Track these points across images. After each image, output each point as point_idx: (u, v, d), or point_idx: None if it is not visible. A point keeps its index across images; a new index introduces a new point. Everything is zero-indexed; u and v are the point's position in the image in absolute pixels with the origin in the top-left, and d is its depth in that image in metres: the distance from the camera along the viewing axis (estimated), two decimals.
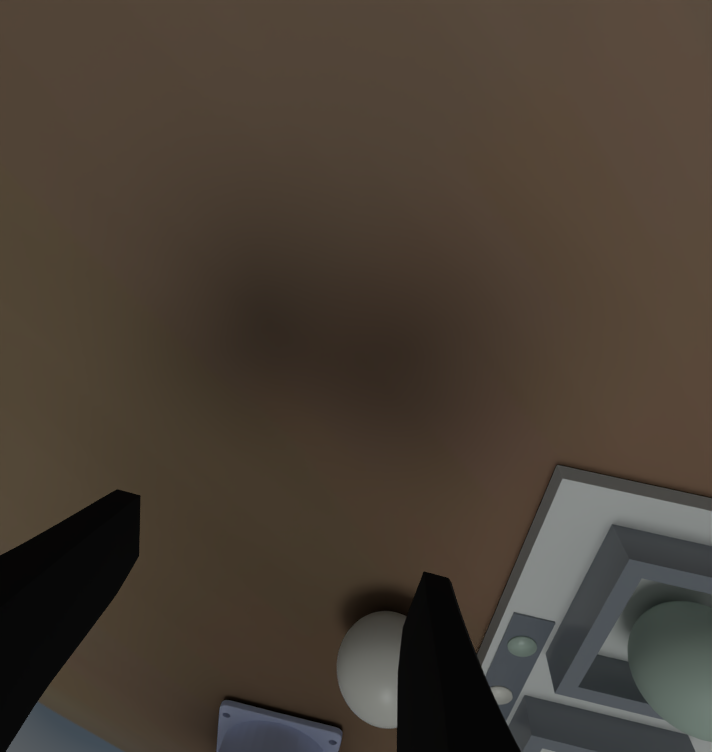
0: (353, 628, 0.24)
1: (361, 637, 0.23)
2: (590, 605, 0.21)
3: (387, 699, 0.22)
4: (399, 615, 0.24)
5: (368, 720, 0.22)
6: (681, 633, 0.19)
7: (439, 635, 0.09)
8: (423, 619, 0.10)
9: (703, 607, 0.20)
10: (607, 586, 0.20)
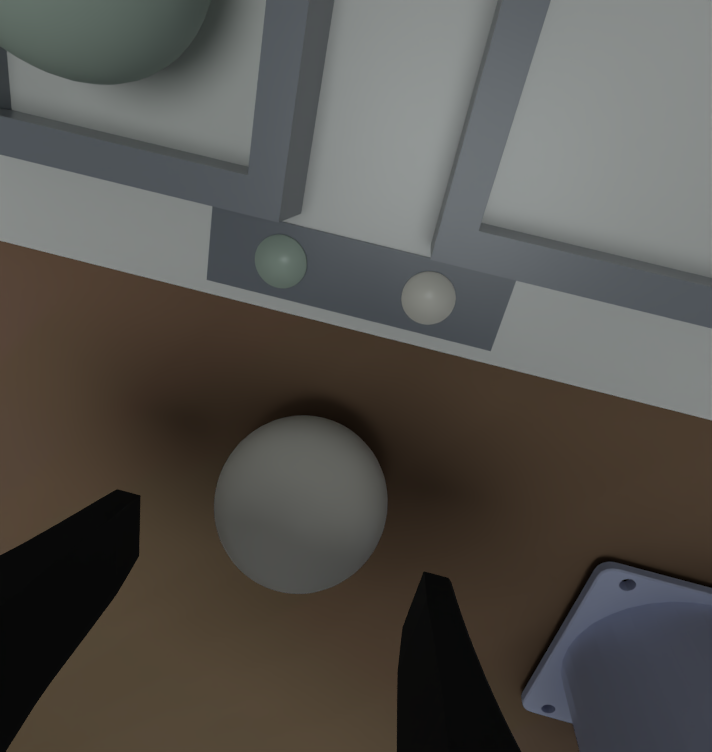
0: None
1: None
2: None
3: (241, 546, 0.12)
4: None
5: (299, 582, 0.12)
6: None
7: (439, 635, 0.09)
8: (423, 619, 0.10)
9: None
10: None
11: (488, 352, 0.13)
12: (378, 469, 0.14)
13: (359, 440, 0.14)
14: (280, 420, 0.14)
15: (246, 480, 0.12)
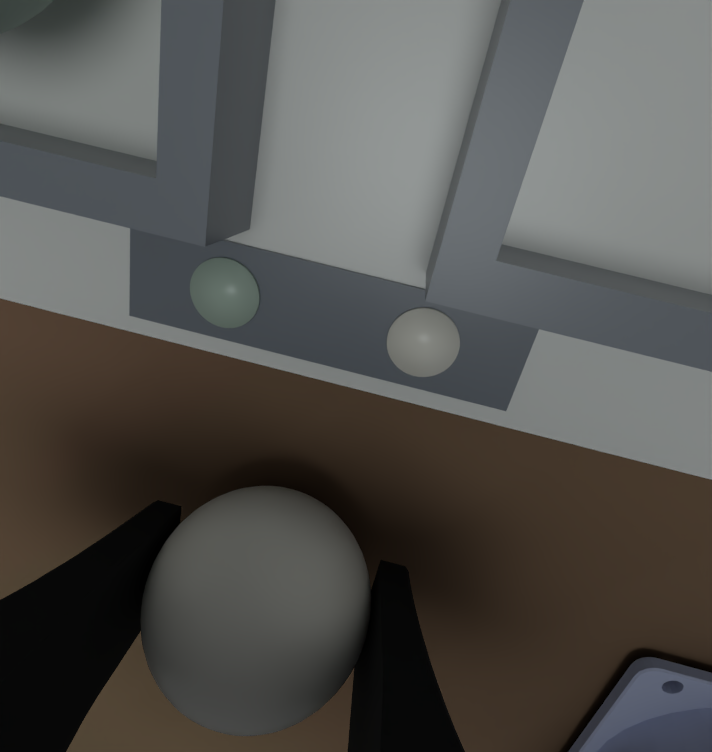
0: None
1: None
2: None
3: (168, 684, 0.09)
4: None
5: (248, 730, 0.09)
6: None
7: (387, 621, 0.10)
8: (375, 606, 0.10)
9: None
10: None
11: (503, 412, 0.10)
12: (358, 562, 0.10)
13: (333, 523, 0.11)
14: (230, 497, 0.11)
15: (175, 592, 0.09)
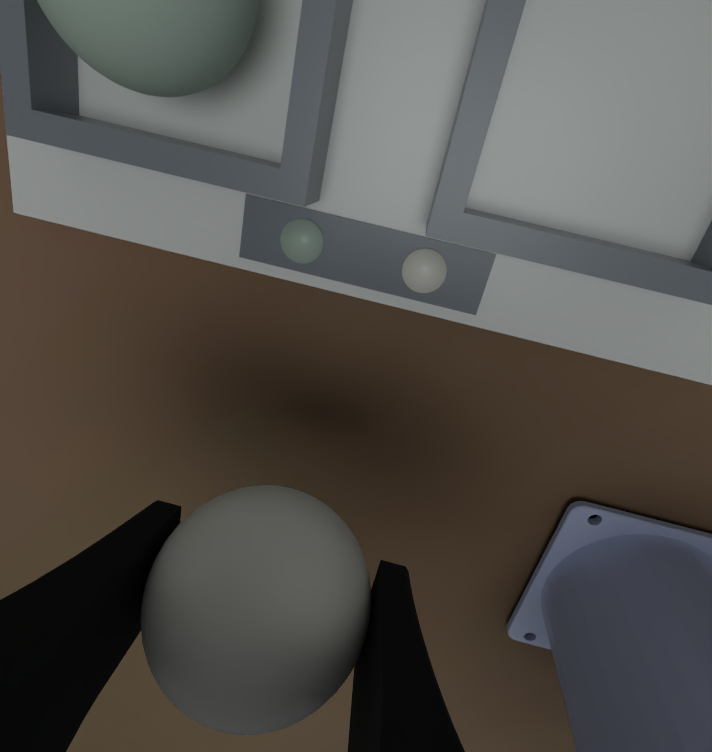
0: None
1: None
2: None
3: (168, 682, 0.09)
4: None
5: (248, 729, 0.09)
6: None
7: (387, 621, 0.10)
8: (375, 606, 0.10)
9: None
10: None
11: (474, 316, 0.16)
12: (358, 561, 0.10)
13: (333, 522, 0.11)
14: (230, 497, 0.11)
15: (176, 591, 0.09)
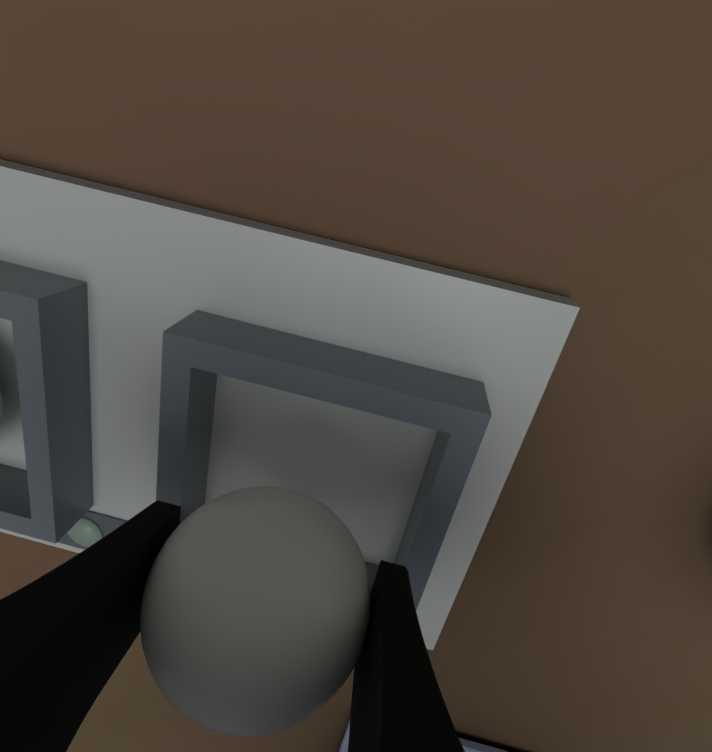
0: None
1: None
2: None
3: (168, 684, 0.09)
4: None
5: (248, 731, 0.09)
6: None
7: (387, 621, 0.10)
8: (375, 606, 0.10)
9: None
10: None
11: None
12: (359, 564, 0.10)
13: (334, 524, 0.11)
14: (231, 498, 0.11)
15: (177, 593, 0.09)
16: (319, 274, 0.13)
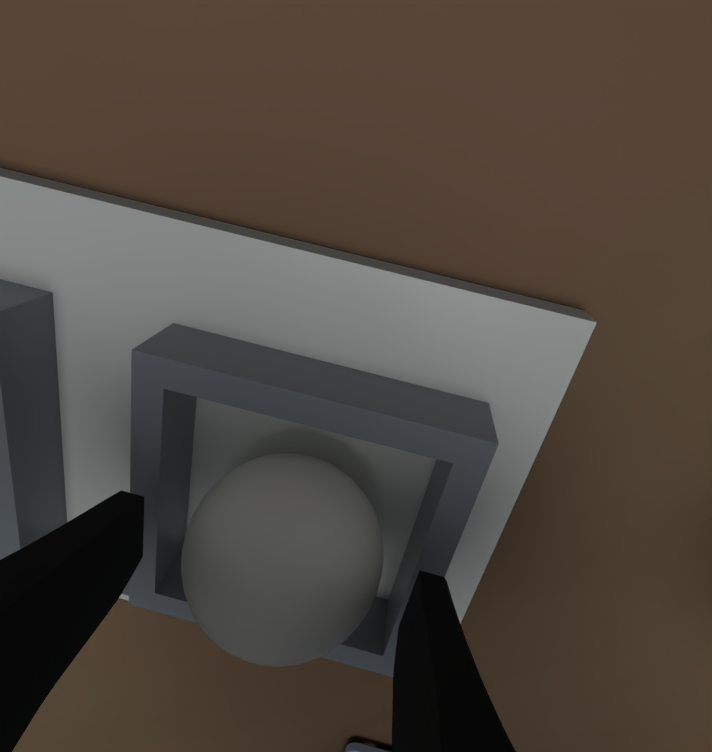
0: None
1: None
2: None
3: (216, 622, 0.10)
4: None
5: (287, 658, 0.10)
6: None
7: (434, 633, 0.09)
8: (418, 618, 0.10)
9: None
10: None
11: None
12: (373, 514, 0.12)
13: (350, 482, 0.12)
14: (257, 462, 0.12)
15: (221, 542, 0.10)
16: (307, 285, 0.12)
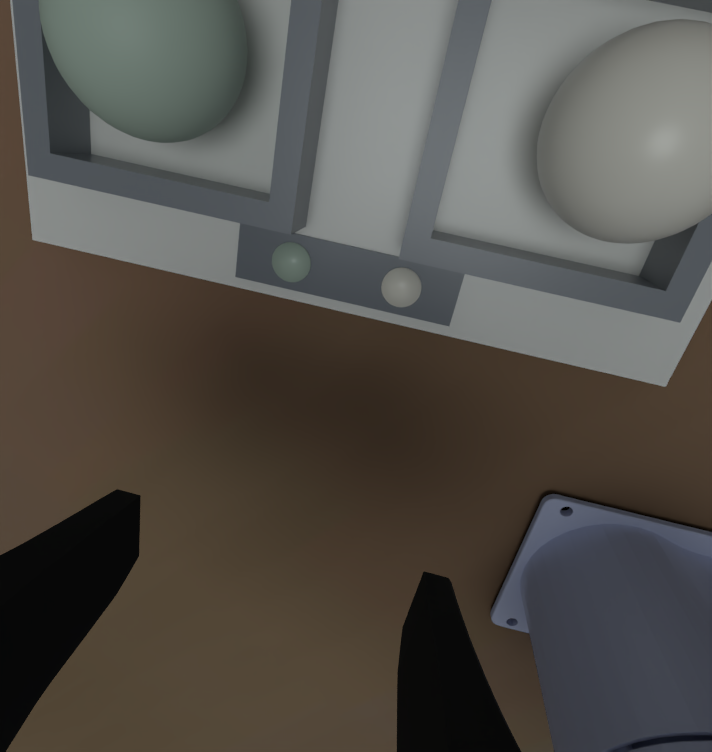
0: (554, 209, 0.13)
1: (563, 193, 0.12)
2: None
3: (691, 135, 0.10)
4: (545, 114, 0.13)
5: None
6: None
7: (439, 635, 0.09)
8: (423, 618, 0.10)
9: None
10: None
11: (447, 327, 0.17)
12: None
13: None
14: None
15: (685, 52, 0.10)
16: None
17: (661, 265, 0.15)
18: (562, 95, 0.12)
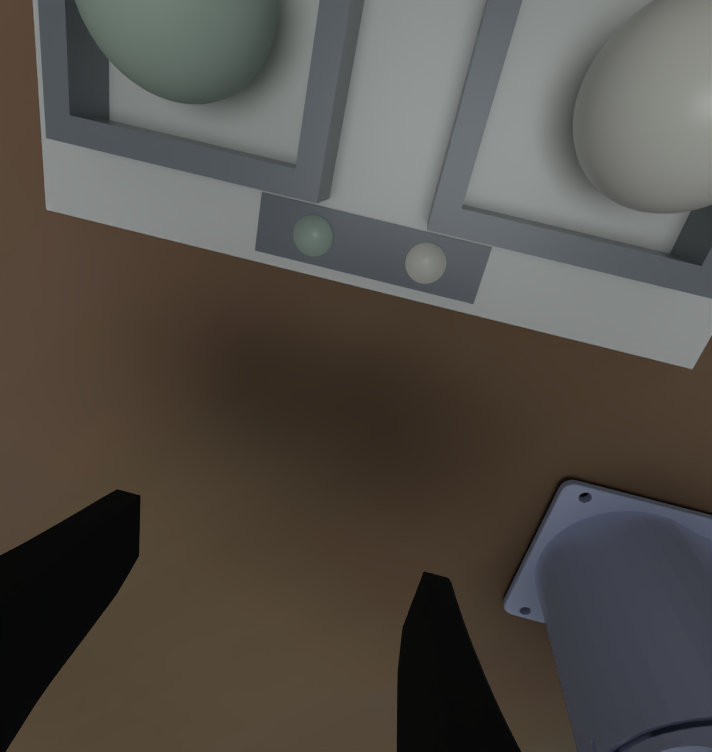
0: (590, 177, 0.13)
1: (602, 158, 0.12)
2: None
3: None
4: (584, 78, 0.12)
5: None
6: None
7: (439, 635, 0.09)
8: (423, 619, 0.10)
9: None
10: None
11: (471, 305, 0.17)
12: None
13: None
14: None
15: None
16: None
17: (696, 241, 0.14)
18: (604, 55, 0.11)
